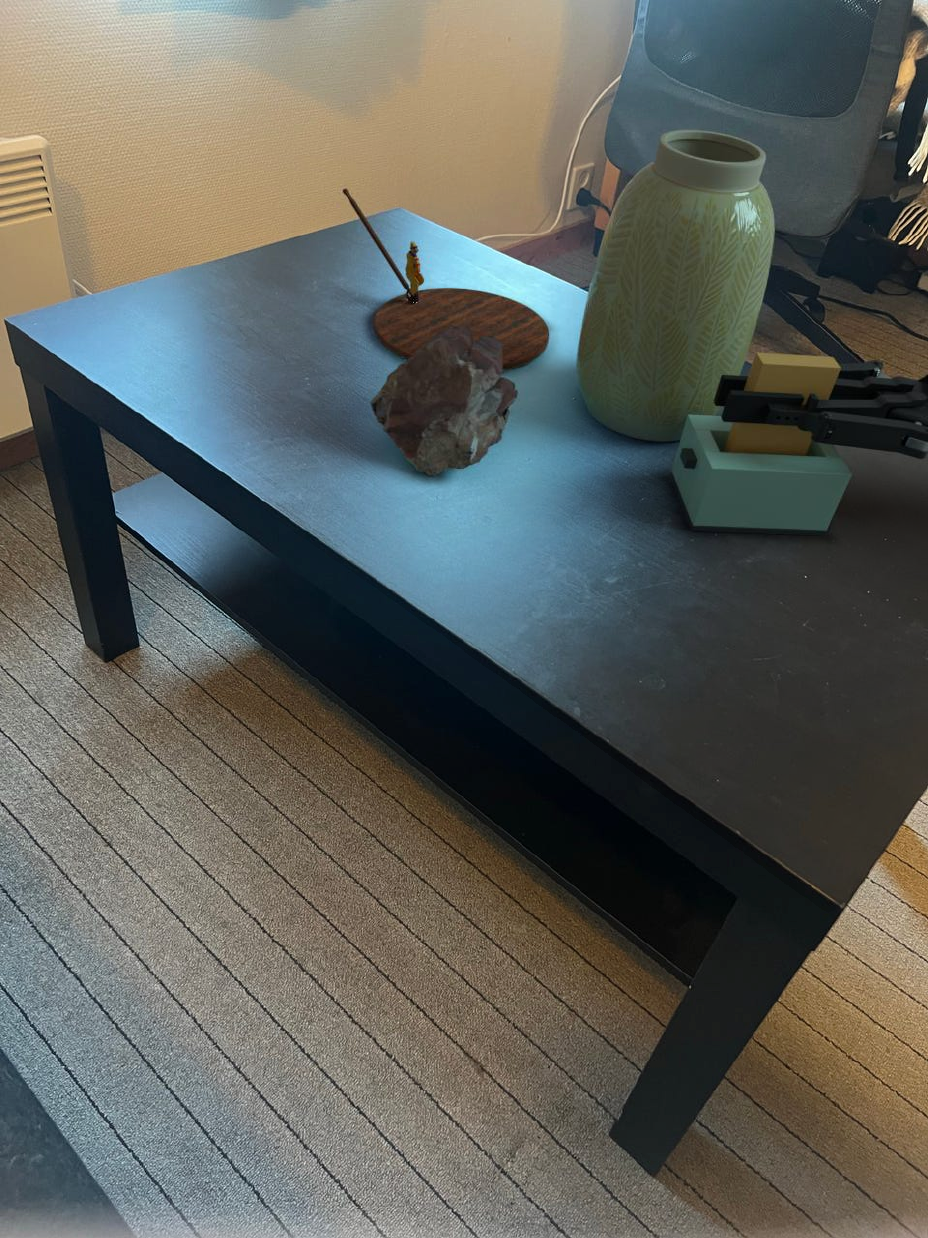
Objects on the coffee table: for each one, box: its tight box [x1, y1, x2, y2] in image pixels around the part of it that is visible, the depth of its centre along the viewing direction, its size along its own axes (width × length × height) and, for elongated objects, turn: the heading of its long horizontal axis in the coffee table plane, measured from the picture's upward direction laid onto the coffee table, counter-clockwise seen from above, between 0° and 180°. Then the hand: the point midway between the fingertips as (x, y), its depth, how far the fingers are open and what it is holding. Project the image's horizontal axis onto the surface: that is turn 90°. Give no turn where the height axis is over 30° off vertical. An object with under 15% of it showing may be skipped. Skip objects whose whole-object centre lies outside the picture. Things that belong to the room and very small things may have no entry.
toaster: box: [669, 414, 853, 537], centre depth 88 cm, size 14×9×7 cm, turn 93°
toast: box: [724, 352, 841, 456], centre depth 83 cm, size 7×2×10 cm, turn 93°
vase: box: [575, 129, 776, 443], centre depth 93 cm, size 17×17×27 cm
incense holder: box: [342, 188, 550, 371], centre depth 110 cm, size 21×30×11 cm
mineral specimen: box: [369, 325, 519, 477], centre depth 90 cm, size 12×13×15 cm
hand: (723, 398), depth 82 cm, fingers closed on toast, 2 cm apart
